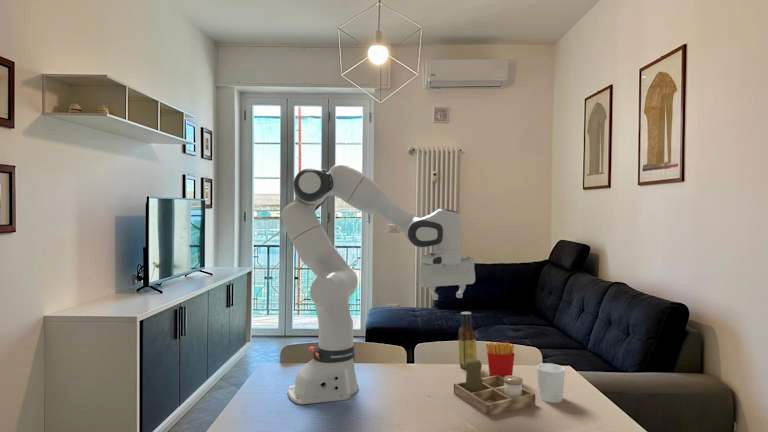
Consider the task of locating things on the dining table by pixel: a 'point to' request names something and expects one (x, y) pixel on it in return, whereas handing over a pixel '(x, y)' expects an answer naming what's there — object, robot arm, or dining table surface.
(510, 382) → the cream ceramic jar
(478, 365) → the olive pepper mill
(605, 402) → the dining table surface
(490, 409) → the oak caddy
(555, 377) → the white cup
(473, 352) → the sauce bottle
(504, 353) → the french fries
